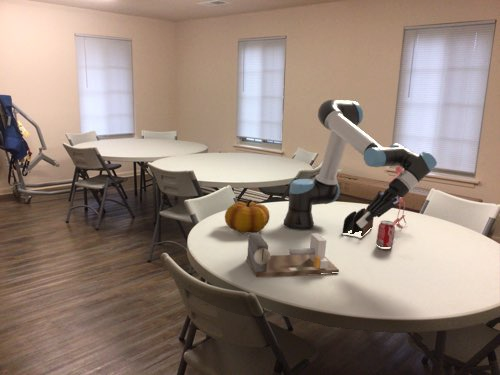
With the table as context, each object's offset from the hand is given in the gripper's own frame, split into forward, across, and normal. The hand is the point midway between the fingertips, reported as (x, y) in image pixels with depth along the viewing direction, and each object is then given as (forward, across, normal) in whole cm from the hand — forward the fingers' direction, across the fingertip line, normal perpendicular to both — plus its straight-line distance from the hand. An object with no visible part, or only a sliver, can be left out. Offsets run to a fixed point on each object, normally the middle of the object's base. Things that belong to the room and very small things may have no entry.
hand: (358, 225), depth 167 cm
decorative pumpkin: (+36, -45, -12) cm, 59 cm away
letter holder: (-3, -40, +27) cm, 48 cm away
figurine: (-21, -48, +44) cm, 69 cm away
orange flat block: (+23, +6, -3) cm, 24 cm away
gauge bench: (+30, 0, -7) cm, 31 cm away
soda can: (-5, -17, +28) cm, 33 cm away
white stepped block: (+25, +2, -5) cm, 26 cm away
